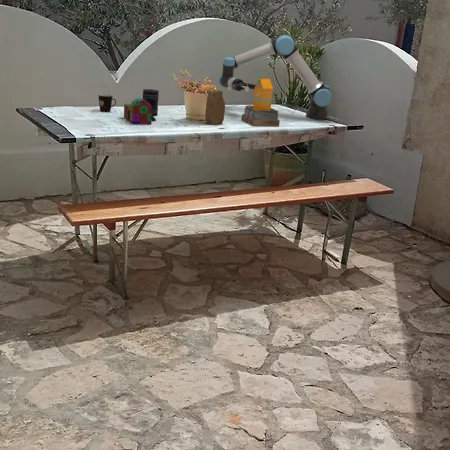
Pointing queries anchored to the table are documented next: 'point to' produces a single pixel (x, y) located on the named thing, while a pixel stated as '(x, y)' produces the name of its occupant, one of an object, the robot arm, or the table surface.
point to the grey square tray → (260, 117)
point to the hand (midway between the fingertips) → (256, 89)
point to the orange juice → (263, 95)
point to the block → (215, 107)
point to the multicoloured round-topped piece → (139, 112)
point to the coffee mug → (105, 102)
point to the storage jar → (152, 99)
